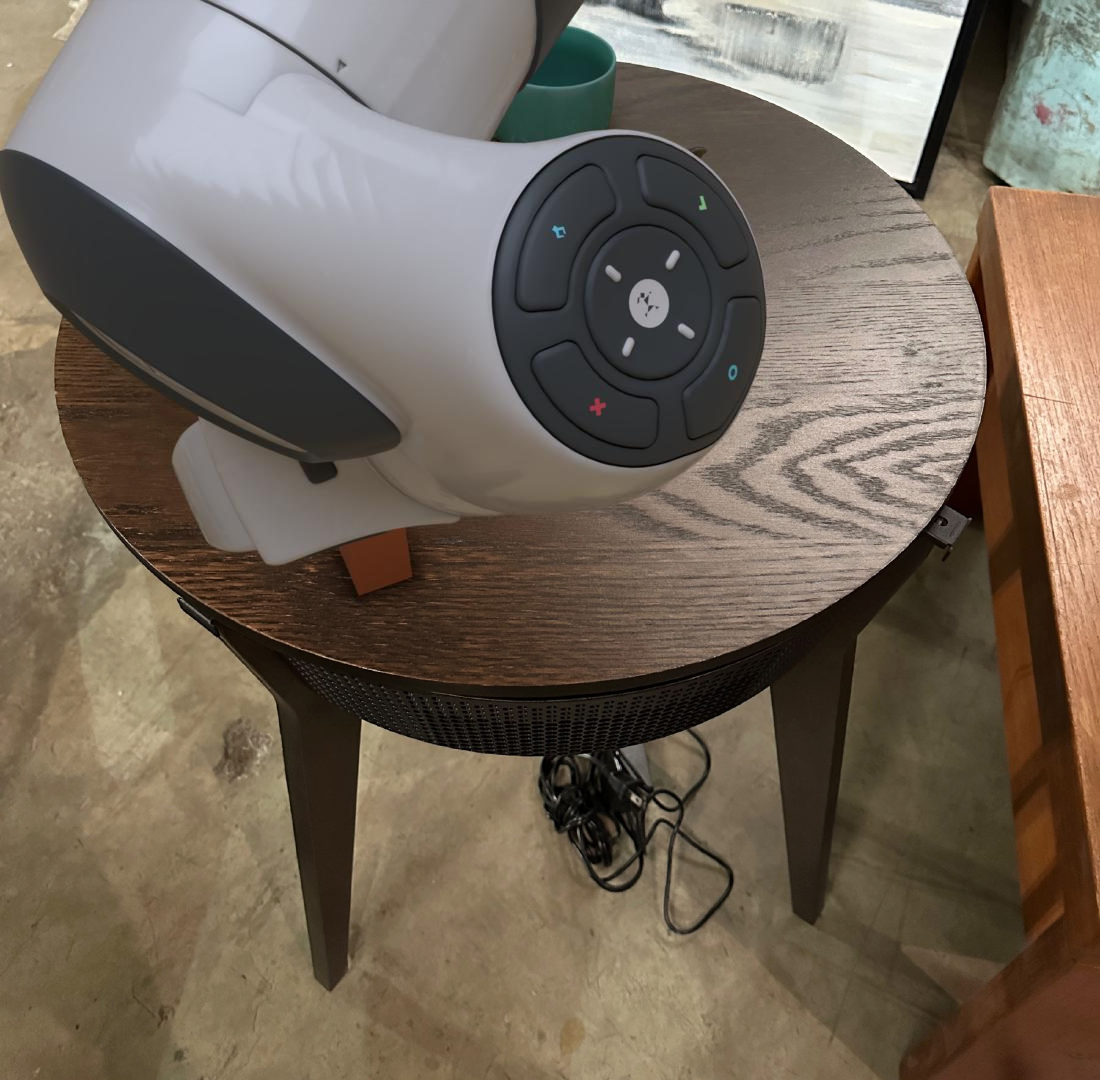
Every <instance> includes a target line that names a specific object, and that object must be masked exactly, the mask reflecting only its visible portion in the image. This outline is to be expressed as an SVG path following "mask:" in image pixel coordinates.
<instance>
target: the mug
mask: <svg viewBox="0 0 1100 1080" xmlns="http://www.w3.org/2000/svg"><path fill="white" fill-rule="evenodd" d="M616 75H617V55H616V52H615V50H614V48H613V47H612V46H611V45H610V43H609V42H607V40H605V39H604V38H602V37H601V36H600V35H598V34H595V33H593V32H591V31H589V30H586V29H583V28H580V27H577V26H572V25H568V26H567V27H566V29H565V30H564V32H563V33H562V34H561V36H560V37H559V39H558V40H557V42H556V43H555V45H554V46H553V47H552V49H551V50H550V52H549V53H548V55H547V56H546V58H545V59H544V61H543V62H542V63H541V65H540V66H539V68H538V69H537V71H536V72H535V74H534V75H533V77H532V78H531V79H530V81H529V82H528V83H527V85H526V86H525V87H524V89H523V90H521V91H520V92H519V93H518V94H516V95H515V97H514V98H513V100H512V102H511V104H510V106H509V107H508V109H507V111H506V113H505V115H504V117H503V118H502V120H501V122H500V124H499V126H498V127H497V129H496V131H495V133H494V135H493V137H492V138H497V139H498V140H499V142H500V143H530V142H538V141H546V140H551V139H556V138H561V137H565V136H569V135H573V134H578V133H583V132H588V131H599V130H609V129H608V128H609V126H610V123H611V119H612V114H613V107H614V98H615V87H616Z"/></svg>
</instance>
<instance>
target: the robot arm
mask: <svg viewBox="0 0 1100 1080" xmlns="http://www.w3.org/2000/svg"><path fill="white" fill-rule="evenodd" d="M585 1H586V0H90V2H89V3H88V5H87V6H86V8H85V10H84V11H83V13H82V14H81V16H80V18H79V19H78V21H77V22H76V23H75V25H74V27H73V29H72V31H71V32H70V34H69V35H68V37H67V39H66V40H65V42H64V44H63V45H62V47H61V48H60V50H59V51H58V53H57V54H56V57H55V58H54V59H53V61H52V62H51V64H50V65H49V68H48V69H47V71H46V72H45V74H44V76H43V77H42V79H41V80H40V83H38V86H37V87H36V89H35V91H34V92H33V94H32V96H31V97H30V99H29V101H28V102H27V104H26V106H25V107H24V109H23V111H22V113H21V115H20V116H19V118H18V119H17V121H16V123H15V125H14V126H13V128H12V130H11V132H10V134H9V135H8V138H7V140H6V141H5V143H4V145H3V147H2V148H1V150H0V197H1V202H2V205H3V208H4V212H5V215H6V217H7V221H8V223H9V226H10V229H11V231H12V233H13V235H14V238H15V240H16V243H17V244H18V247H19V249H20V251H21V253H22V256H23V258H24V260H25V262H26V264H27V266H28V268H29V269H30V271H31V273H32V275H33V277H34V279H35V282H36V283H37V285H38V287H39V289H40V291H41V292H42V294H43V297H45V298H46V300H47V301H48V302H49V303H50V304H51V305H52V306H53V307H54V308H55V310H57V312H58V313H59V314H60V315H62V317H63V318H64V319H65V320H66V321H68V323H69V324H71V326H73V328H74V329H76V330H77V331H78V332H79V333H80V334H81V335H82V336H83V337H85V338H86V339H87V340H88V341H89V342H90V343H91V344H93V345H94V346H95V347H96V348H97V349H99V350H100V351H101V352H102V353H103V354H104V355H106V356H107V357H108V358H110V359H111V360H112V361H113V362H115V363H116V364H117V365H119V366H120V367H121V368H123V369H124V370H126V371H127V372H128V373H129V374H131V375H132V376H134V377H135V378H137V379H138V380H139V381H141V382H142V383H144V384H145V385H147V386H148V387H150V388H151V389H153V390H155V391H156V392H157V393H159V394H161V395H162V396H164V397H165V398H167V399H168V400H170V401H172V402H173V403H174V404H177V405H178V406H180V407H182V408H184V409H186V410H187V411H189V412H190V413H192V414H194V415H195V416H197V417H198V420H197V421H195V422H194V423H192V424H191V425H190V426H188V428H187V429H186V430H184V431H183V432H182V434H181V435H180V436H179V438H178V440H177V441H176V444H175V446H174V448H173V452H172V454H171V455H172V456H171V465H172V468H173V471H174V475H175V476H176V478H177V481H178V484H179V485H180V488H181V490H182V493H183V495H184V497H185V500H186V502H187V504H188V506H189V509H190V511H191V513H192V515H193V517H194V519H195V521H196V523H197V526H198V527H199V530H200V533H201V534H202V536H203V538H204V539H205V541H206V543H207V544H209V546H211V547H212V548H215V549H218V550H221V551H224V552H229V553H246V552H253V551H257V553H258V554H259V556H260V557H261V559H262V561H263V563H265V564H266V565H268V566H282V565H286V564H289V563H292V562H294V561H297V560H300V559H309V558H311V557H315V556H318V555H321V554H323V553H326V552H329V551H331V550H334V549H337V548H338V547H340V546H344V545H347V544H350V543H353V542H356V541H360V540H363V539H367V538H370V537H374V536H378V535H382V534H385V533H387V532H388V530H393V529H399V528H404V527H405V528H411V527H419V526H431V525H449V524H450V525H451V524H455V523H458V522H459V521H460V520H461V518H462V517H463V518H464V517H466V518H467V517H468V518H469V517H497V516H507V515H514V516H552V515H553V516H554V515H563V514H572V513H581V512H586V511H591V510H597V509H598V510H599V509H602V508H603V509H604V508H607V507H611V506H614V505H618V504H623V503H626V502H629V501H632V500H635V499H638V498H642V497H644V496H645V495H647V494H650V493H652V492H654V491H656V490H659V489H660V488H662V487H664V486H666V485H668V484H669V483H671V482H673V481H674V480H676V479H677V478H679V477H680V476H682V475H683V474H684V473H686V472H688V471H689V470H691V469H692V468H694V466H696V465H697V464H698V463H699V462H701V461H702V460H703V459H704V458H705V457H706V456H708V454H709V453H710V452H711V451H712V450H713V449H715V447H717V445H719V443H720V442H721V441H722V440H723V439H724V437H725V436H726V435H727V433H728V432H729V431H730V430H731V428H732V427H733V425H734V424H735V422H736V421H737V419H738V418H739V415H740V414H741V412H742V410H743V408H744V406H745V405H746V402H747V400H748V398H749V395H750V393H751V390H752V387H753V385H754V382H755V379H756V376H757V373H758V370H759V367H760V363H761V361H762V356H763V353H764V347H765V341H766V333H767V319H768V318H767V315H768V314H767V312H768V310H767V292H766V283H765V275H764V274H765V273H764V269H763V264H762V259H761V255H760V251H759V248H758V243H757V241H756V238H755V235H754V232H753V231H752V228H751V225H750V222H749V221H748V218H747V217H746V215H745V214H746V213H744V210H743V209H742V207H741V205H740V204H739V202H738V200H737V199H736V197H735V196H734V193H733V192H732V191H731V190H730V189H729V187H728V186H727V184H726V183H725V182H724V181H723V179H722V178H721V177H720V176H719V175H718V174H717V173H716V172H715V170H713V169H712V168H711V167H710V166H709V165H708V164H707V163H706V162H704V160H702V158H701V159H699V158H698V157H697V156H695V155H694V154H693V153H691V152H690V151H688V150H689V149H687V148H685V147H684V146H682V145H680V144H678V143H676V142H674V141H671V140H669V139H667V138H664V137H663V136H659V135H656V134H653V133H649V132H645V131H640V130H634V129H621V128H620V129H618V128H614V129H613V128H612V129H607V130H599V131H588V132H583V133H578V134H573V135H569V136H565V137H561V138H556V139H551V140H546V141H538V142H530V143H502V142H501V141H498V142H497V141H492V139H493V138H494V137H493V135H494V133H495V131H496V129H497V127H498V126H499V124H500V122H501V120H502V118H503V117H504V115H505V113H506V111H507V109H508V107H509V106H510V104H511V102H512V100H513V98H514V97H515V95H516V94H518V93H519V92H520V91H521V90H523V89H524V87H525V86H526V85H527V83H528V82H529V81H530V79H531V78H532V77H533V75H534V74H535V72H536V71H537V69H538V68H539V66H540V65H541V63H542V62H543V61H544V59H545V58H546V56H547V55H548V53H549V52H550V50H551V49H552V47H553V46H554V45H555V43H556V42H557V40H558V39H559V37H560V36H561V34H562V33H563V32H564V30H565V29H566V27H567V26H569V24H570V23H571V21H572V20H573V19H574V17H575V16H576V14H578V11H579V10H580V9H581V7H582V5H583V4H584V2H585Z"/></svg>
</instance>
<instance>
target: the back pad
mask: <svg viewBox="0 0 1100 1080" xmlns="http://www.w3.org/2000/svg"><path fill="white" fill-rule="evenodd" d="M406 528H407V527H404V528H399V529H393V530H388V532H387V533H385V534H382V535H378V536H374V537H370V538H367V539H363V540H360V541H356V542H353V543H350V544H347V545H344V546H340V547H337V548H338V550H339V552H340V555H341V557H342V559H343V562H344V564H345V566H346V568H347V571H348V573H349V575H350V578H351V581H352V583H353V586H354V587H355V591H356V592H357V594H358V596H359V597H360V596H363V595H365V594H368V593H371V592H374V591H377V590H380V589H382V588H386V587H388V586H391V585H394V584H396V583H399V582H403V581H405V580H408V579H411V578H413V572H412V571H413V570H412V564H411V557H410V551H409V550H410V549H409V543H408V537H407V529H406Z"/></svg>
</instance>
